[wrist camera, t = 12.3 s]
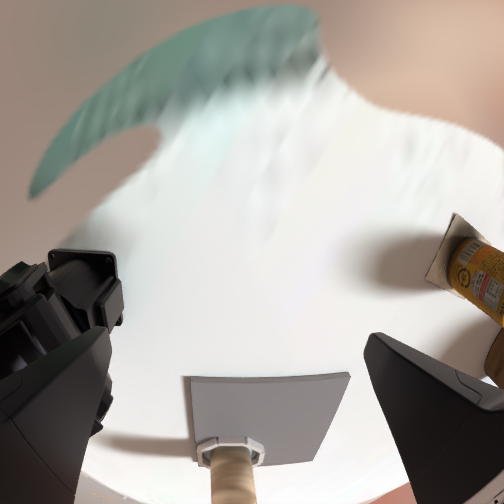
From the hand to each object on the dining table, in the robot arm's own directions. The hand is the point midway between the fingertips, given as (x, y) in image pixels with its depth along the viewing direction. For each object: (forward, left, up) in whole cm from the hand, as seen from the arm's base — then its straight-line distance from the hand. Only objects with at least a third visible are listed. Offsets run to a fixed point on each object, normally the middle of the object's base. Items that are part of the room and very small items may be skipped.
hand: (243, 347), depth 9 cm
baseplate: (+5, -23, -13) cm, 27 cm away
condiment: (+24, -1, -13) cm, 27 cm away
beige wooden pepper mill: (+1, -28, -12) cm, 30 cm away
